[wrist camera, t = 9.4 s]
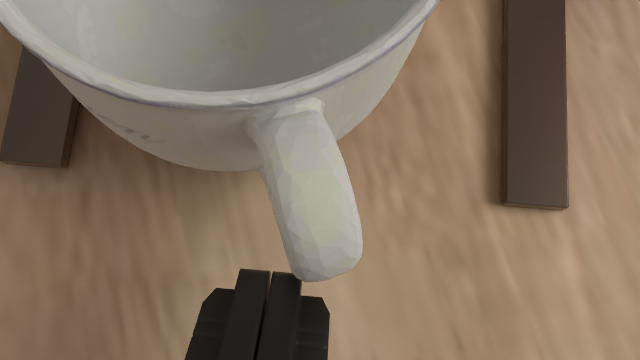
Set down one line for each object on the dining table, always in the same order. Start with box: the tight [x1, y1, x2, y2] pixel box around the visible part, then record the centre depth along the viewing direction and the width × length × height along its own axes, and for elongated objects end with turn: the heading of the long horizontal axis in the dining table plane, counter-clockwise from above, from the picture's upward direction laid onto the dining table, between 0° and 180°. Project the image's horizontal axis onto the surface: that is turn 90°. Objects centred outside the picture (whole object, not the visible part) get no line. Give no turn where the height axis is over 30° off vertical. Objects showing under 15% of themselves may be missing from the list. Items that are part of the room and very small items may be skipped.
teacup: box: [0, 0, 440, 282], centre depth 15 cm, size 14×11×8 cm
